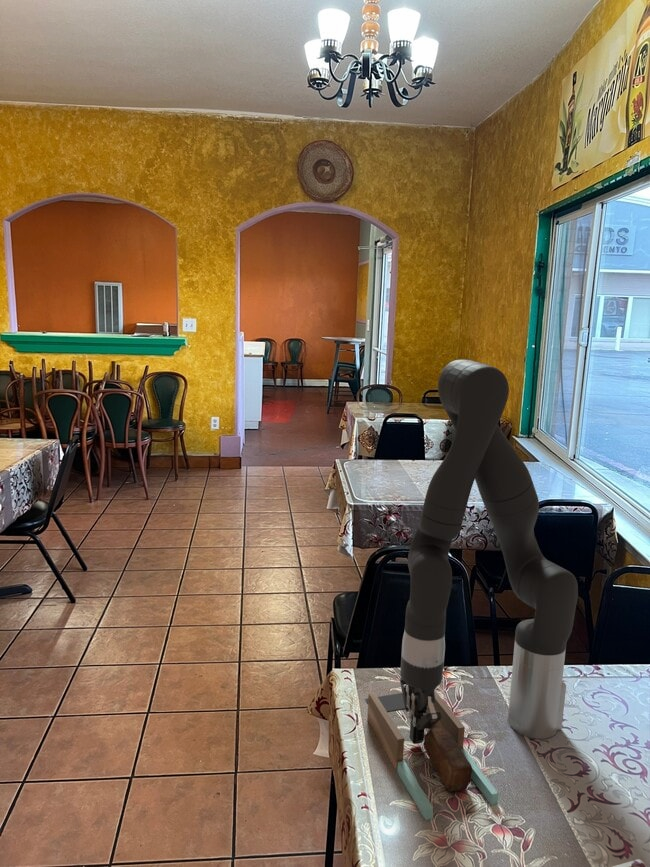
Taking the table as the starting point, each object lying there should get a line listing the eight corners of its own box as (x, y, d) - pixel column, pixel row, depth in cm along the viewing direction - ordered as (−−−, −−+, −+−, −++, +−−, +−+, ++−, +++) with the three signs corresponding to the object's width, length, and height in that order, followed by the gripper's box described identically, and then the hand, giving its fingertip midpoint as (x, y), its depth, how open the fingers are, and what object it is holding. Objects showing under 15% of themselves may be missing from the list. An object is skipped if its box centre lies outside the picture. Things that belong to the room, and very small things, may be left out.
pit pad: (409, 692, 134) (409, 691, 134) (420, 706, 129) (420, 705, 129) (364, 700, 131) (364, 698, 131) (373, 714, 126) (373, 713, 126)
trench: (427, 710, 128) (429, 683, 127) (462, 756, 115) (464, 727, 114) (367, 721, 124) (368, 693, 123) (396, 770, 111) (397, 739, 110)
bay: (463, 758, 115) (464, 748, 114) (497, 803, 104) (498, 793, 104) (397, 772, 111) (397, 762, 110) (425, 820, 100) (426, 809, 100)
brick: (469, 790, 107) (474, 766, 106) (448, 793, 106) (452, 769, 105) (441, 745, 117) (445, 723, 116) (421, 748, 116) (425, 725, 114)
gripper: (459, 672, 109) (451, 761, 112) (426, 633, 121) (419, 715, 125) (419, 677, 107) (412, 769, 110) (389, 638, 119) (383, 721, 123)
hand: (416, 740), depth 117 cm, fingers closed
